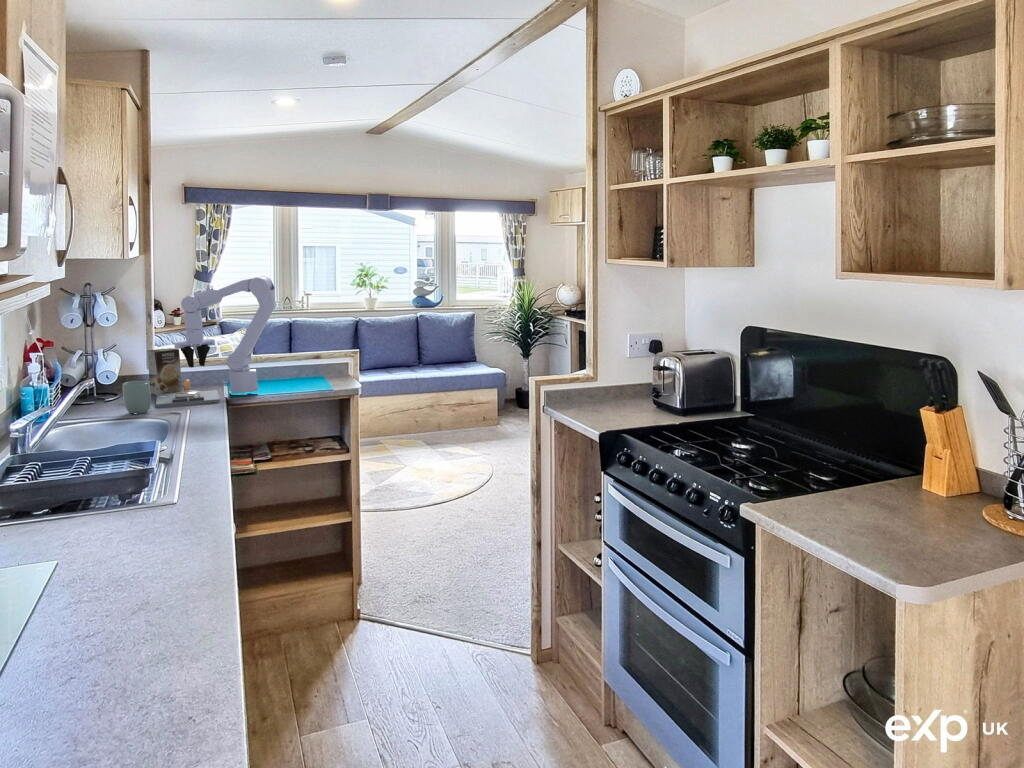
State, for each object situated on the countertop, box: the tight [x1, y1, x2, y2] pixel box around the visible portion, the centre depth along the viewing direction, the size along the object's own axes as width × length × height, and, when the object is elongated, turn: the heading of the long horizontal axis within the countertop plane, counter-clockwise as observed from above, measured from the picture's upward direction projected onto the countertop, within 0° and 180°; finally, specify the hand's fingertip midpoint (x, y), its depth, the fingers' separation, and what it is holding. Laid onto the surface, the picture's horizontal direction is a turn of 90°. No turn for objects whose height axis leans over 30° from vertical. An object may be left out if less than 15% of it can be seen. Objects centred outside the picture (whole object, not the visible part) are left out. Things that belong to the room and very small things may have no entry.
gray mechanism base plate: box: [155, 389, 221, 409], centre depth 259 cm, size 20×18×3 cm
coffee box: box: [146, 347, 183, 396], centre depth 271 cm, size 9×6×16 cm
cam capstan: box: [175, 379, 200, 398], centre depth 260 cm, size 12×8×4 cm, turn 24°
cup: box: [121, 380, 152, 414], centre depth 239 cm, size 8×8×10 cm
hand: (196, 366), depth 267 cm, fingers open, 4 cm apart
